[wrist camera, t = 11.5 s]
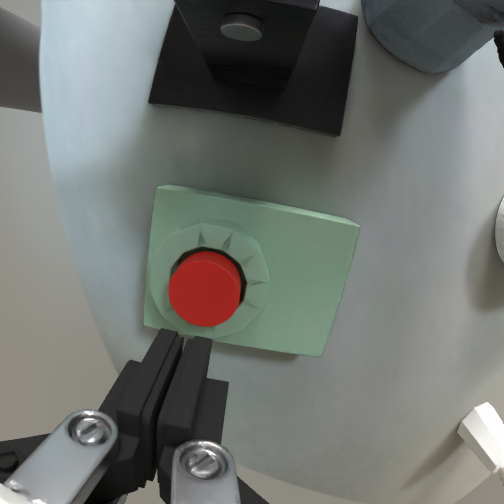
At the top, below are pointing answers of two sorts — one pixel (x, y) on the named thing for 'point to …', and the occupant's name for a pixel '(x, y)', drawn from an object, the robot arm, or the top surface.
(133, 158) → the top surface
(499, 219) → the ramekin
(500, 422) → the pepper shaker
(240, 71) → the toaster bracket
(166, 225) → the control block
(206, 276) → the stop button
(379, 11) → the moka pot
